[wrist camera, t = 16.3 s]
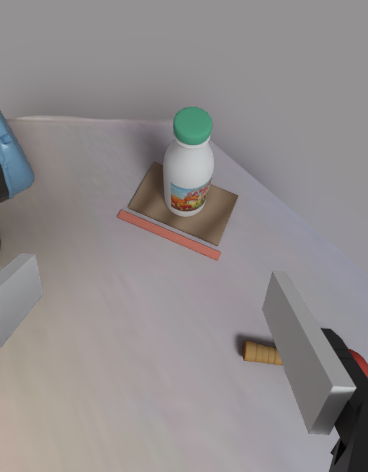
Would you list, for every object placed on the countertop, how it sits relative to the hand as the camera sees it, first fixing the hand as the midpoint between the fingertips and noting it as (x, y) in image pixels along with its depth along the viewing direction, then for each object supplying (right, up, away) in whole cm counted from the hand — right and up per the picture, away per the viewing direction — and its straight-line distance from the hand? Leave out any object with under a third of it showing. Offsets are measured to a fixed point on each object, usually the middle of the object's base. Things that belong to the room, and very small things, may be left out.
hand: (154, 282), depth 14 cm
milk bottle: (+2, +10, +34) cm, 36 cm away
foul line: (-1, +3, +32) cm, 32 cm away
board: (+2, +9, +35) cm, 36 cm away
